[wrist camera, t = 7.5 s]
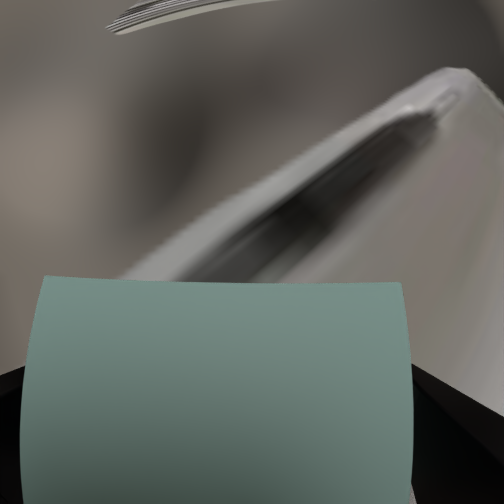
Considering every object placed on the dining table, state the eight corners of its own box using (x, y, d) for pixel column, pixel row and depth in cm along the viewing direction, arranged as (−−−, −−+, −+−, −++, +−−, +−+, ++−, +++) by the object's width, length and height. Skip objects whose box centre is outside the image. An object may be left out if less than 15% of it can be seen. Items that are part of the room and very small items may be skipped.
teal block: (304, 463, 12) (393, 579, 2) (187, 458, 13) (27, 528, 2) (306, 373, 15) (401, 281, 4) (191, 369, 15) (44, 275, 4)
